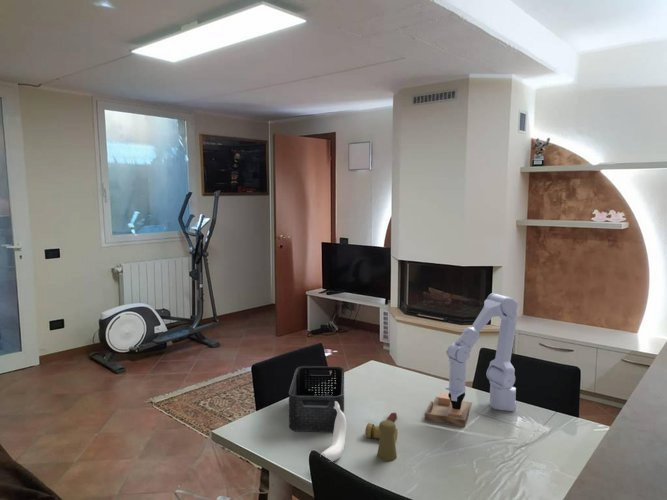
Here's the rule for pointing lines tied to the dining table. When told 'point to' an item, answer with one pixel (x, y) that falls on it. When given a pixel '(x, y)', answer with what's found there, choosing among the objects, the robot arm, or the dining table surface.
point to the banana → (337, 436)
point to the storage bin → (315, 399)
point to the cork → (387, 441)
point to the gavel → (374, 430)
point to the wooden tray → (441, 413)
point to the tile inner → (455, 413)
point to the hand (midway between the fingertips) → (456, 412)
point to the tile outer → (444, 399)
